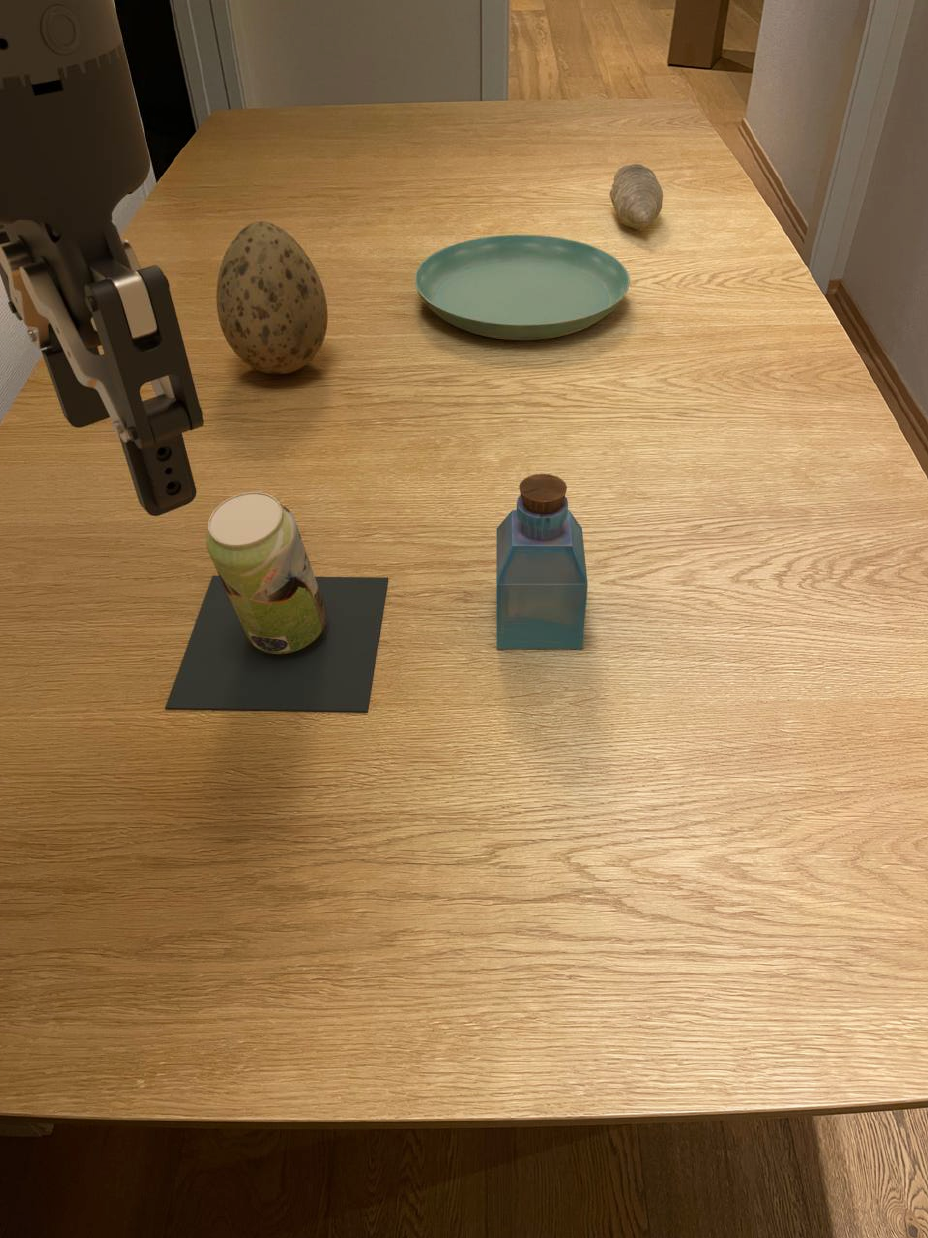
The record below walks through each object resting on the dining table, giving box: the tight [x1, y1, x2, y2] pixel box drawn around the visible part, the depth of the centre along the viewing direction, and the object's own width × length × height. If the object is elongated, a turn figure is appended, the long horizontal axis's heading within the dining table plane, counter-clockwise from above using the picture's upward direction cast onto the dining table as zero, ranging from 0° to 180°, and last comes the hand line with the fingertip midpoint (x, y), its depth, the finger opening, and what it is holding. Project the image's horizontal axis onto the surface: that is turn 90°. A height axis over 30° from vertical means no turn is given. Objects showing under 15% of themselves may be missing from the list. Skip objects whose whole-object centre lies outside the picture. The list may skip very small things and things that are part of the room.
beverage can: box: [205, 491, 327, 654], centre depth 67 cm, size 6×7×12 cm
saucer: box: [414, 234, 631, 341], centre depth 111 cm, size 24×24×3 cm
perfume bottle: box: [495, 473, 589, 650], centre depth 68 cm, size 6×6×12 cm
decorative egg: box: [216, 220, 329, 375], centre depth 96 cm, size 11×11×15 cm
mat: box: [164, 575, 389, 713], centre depth 72 cm, size 14×14×1 cm
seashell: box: [608, 163, 664, 229], centre depth 126 cm, size 6×14×8 cm, turn 3°
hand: (129, 460), depth 42 cm, fingers open, 8 cm apart
